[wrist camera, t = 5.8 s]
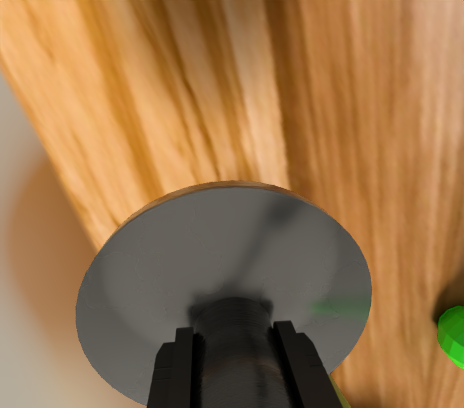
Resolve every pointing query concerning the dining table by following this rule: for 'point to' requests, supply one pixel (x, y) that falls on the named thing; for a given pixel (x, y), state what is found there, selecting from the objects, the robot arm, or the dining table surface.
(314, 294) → the lid
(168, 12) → the dining table surface
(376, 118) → the dining table surface
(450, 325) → the plastic bottle
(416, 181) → the dining table surface
